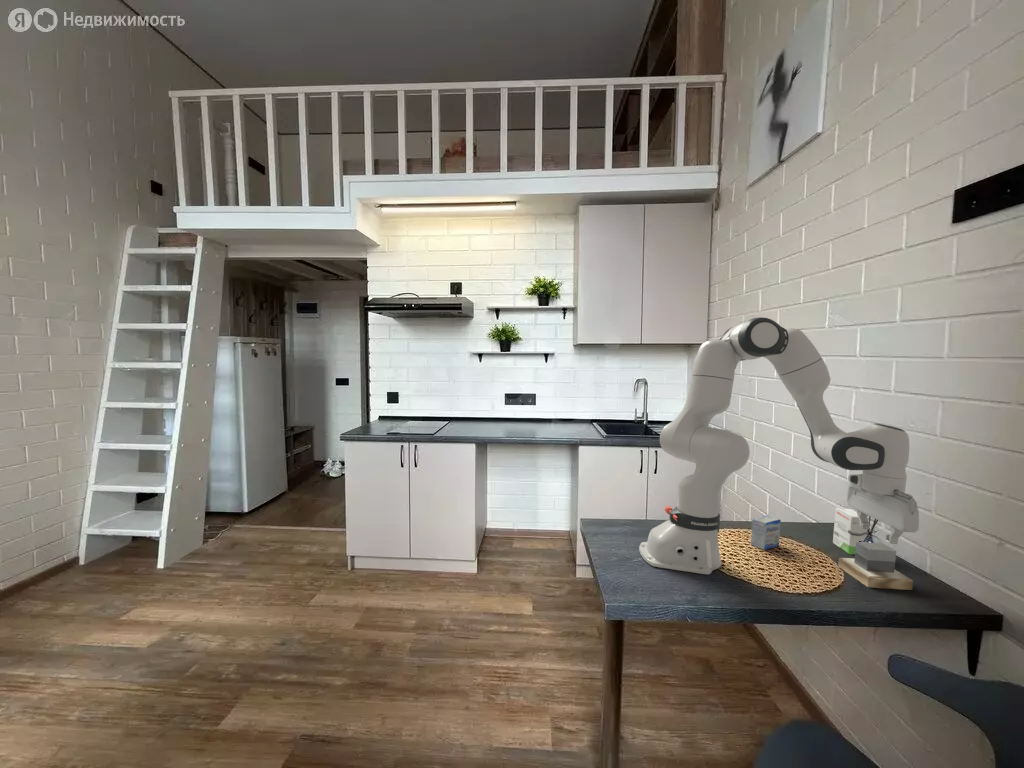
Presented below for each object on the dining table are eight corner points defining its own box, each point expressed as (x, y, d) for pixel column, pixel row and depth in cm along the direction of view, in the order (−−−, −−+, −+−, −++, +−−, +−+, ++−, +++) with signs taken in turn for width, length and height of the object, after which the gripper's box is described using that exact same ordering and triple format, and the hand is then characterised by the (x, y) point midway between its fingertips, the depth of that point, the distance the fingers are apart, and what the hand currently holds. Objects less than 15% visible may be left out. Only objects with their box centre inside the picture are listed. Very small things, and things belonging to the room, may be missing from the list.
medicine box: (763, 550, 130) (766, 523, 129) (750, 544, 134) (751, 518, 133) (779, 546, 134) (781, 519, 133) (765, 540, 137) (767, 514, 137)
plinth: (867, 587, 110) (868, 576, 110) (838, 566, 121) (838, 556, 121) (912, 590, 110) (913, 579, 109) (878, 568, 121) (879, 559, 120)
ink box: (866, 556, 128) (869, 518, 128) (848, 554, 129) (851, 516, 128) (848, 543, 137) (851, 508, 136) (831, 542, 138) (834, 507, 137)
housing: (894, 572, 113) (896, 550, 112) (866, 570, 113) (868, 549, 113) (880, 564, 117) (882, 543, 117) (854, 562, 118) (856, 541, 117)
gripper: (930, 498, 103) (924, 553, 103) (867, 475, 123) (862, 522, 124) (902, 496, 103) (896, 551, 104) (844, 474, 123) (839, 520, 124)
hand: (877, 535), depth 114 cm, fingers open, 8 cm apart
